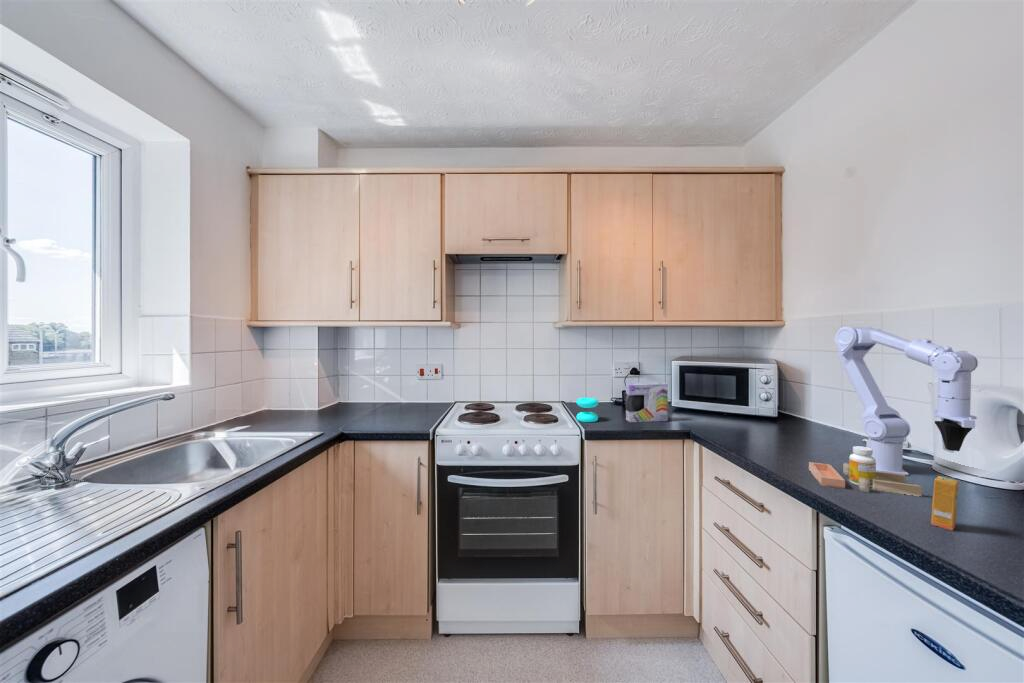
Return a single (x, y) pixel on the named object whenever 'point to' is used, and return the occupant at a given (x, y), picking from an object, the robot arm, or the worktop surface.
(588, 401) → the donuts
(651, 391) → the cake pan box
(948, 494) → the supplement box
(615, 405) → the worktop surface
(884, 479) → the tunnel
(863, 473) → the supplement bottle
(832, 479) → the tray
